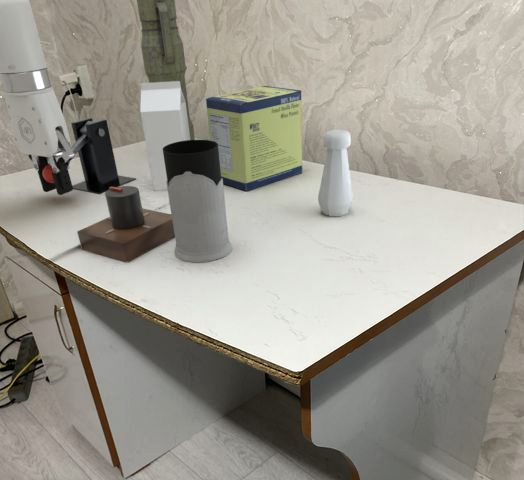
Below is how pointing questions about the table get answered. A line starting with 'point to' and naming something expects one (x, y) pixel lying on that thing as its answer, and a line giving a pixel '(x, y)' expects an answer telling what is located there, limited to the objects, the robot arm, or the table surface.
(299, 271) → the table surface
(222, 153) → the protein box
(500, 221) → the table surface
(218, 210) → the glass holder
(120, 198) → the dial
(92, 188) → the lever bracket
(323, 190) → the salt shaker
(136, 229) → the dial panel
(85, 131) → the lever
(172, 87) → the milk carton
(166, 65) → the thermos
